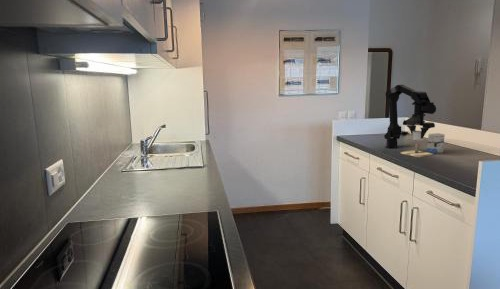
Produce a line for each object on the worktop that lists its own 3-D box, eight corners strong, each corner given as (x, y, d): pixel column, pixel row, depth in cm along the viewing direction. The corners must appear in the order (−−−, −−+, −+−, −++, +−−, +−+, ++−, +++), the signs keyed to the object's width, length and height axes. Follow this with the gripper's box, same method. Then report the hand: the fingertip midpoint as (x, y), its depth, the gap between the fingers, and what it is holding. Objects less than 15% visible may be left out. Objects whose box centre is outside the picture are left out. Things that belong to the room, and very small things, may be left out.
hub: (409, 139, 224) (410, 131, 223) (416, 138, 227) (416, 130, 226) (418, 140, 219) (418, 132, 218) (424, 139, 221) (425, 131, 220)
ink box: (432, 153, 226) (433, 134, 224) (426, 151, 231) (427, 133, 228) (443, 152, 228) (445, 134, 226) (437, 150, 233) (439, 133, 231)
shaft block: (400, 153, 228) (401, 143, 227) (413, 151, 233) (414, 141, 232) (419, 157, 216) (420, 147, 214) (432, 155, 221) (433, 144, 220)
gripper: (397, 112, 224) (396, 136, 227) (423, 114, 208) (421, 141, 211) (409, 111, 229) (408, 135, 232) (436, 113, 213) (434, 139, 216)
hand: (417, 137), depth 222 cm, fingers closed on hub, 6 cm apart
